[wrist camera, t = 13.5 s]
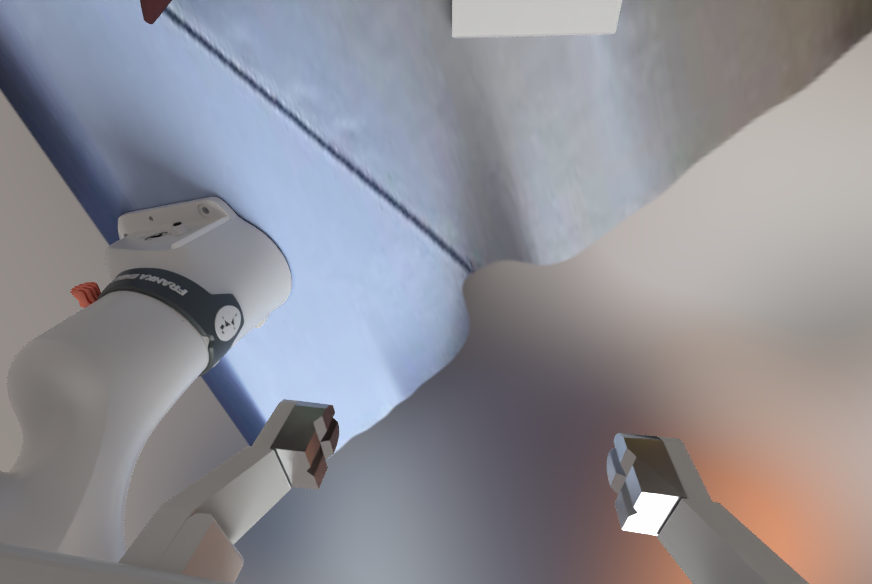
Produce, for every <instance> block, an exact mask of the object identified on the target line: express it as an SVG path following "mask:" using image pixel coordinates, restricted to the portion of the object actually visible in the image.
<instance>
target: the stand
mask: <svg viewBox="0 0 872 584" xmlns="http://www.w3.org/2000/svg"><path fill="white" fill-rule="evenodd" d="M621 4H622V0H452V37H454V38H488V37H532V36H576V35H607V34H613V33H616V28H617V23H618V18H619V14H620V9H621Z"/></svg>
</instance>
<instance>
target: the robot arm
mask: <svg viewBox="0 0 872 584" xmlns="http://www.w3.org/2000/svg"><path fill="white" fill-rule="evenodd" d="M206 208H207V209H208V210H209V211H208V210H207V209H206ZM118 232H119V237H120V240H118V241H117V242H115V243H113V244H111V245H110V246H109V247H108V248H107V249H106V252H105V258H104V259H105V266H106V269H107V272H108V274H109V277H110V280H111V283H110V284H109V285H108V286H107V287H106V288H105V289H104V290H103V292H102V293H101V292H100V289H99V287H98V285H97V283H95V282H87V283H85V284H80V285H79V286H75V287H74V288H72V289H71V290H72V291H71V293H72V295H74V297H75V298H76V299H77V300H78V301H79V303H80V306H81V307H84V309H82V310H80V311H79V312H77V313H76V314H74V315H72V316H71V317H69V318H67V319H66V320H64V321H63V322H61V323H59V324H58V325H56V326H54V327H53V328H51V329H49V330H48V331H46V332H44V333H43V334H41V335H40V336H38V337H36V338H35V339H33V340H32V341H30V342H28V343H27V344H26V345H25V346H24V347H23V348H22V349H21V350H20V351H19V352H18V353H17V355H16V356H15V357H14V359H13V361H12V363H11V366H10V368H9V371H8V377H7V388H8V395H9V399H10V402H11V405H12V407H13V409H14V412H15V414H16V416H17V418H18V421H19V423H20V425H21V429H22V434H23V443H22V449H21V452H20V455H19V457H18V460H17V462H16V463H15V465H14V466H13V468H12V469H11V470H10V472H9V473H5V472H1V471H0V584H237V583H234V582H235V580H236V578H237V576H238V574H239V572H240V570H241V568H242V566H243V563H244V562H243V557H242V556H241V554H240V553H239V552H238V550H237V549H236V548H235V546H234V545H233V544H234V543H235V542H236V541H238V540H239V538H240V537H242V535H244V534H245V533H246V532H247V531H248V530H249V529H250V528H251V527H252V526H253V525H254V524H255V523H256V522H257V521H258V520H259V519H260V518H261V517H262V516H263V515H264V514H265V513H266V512H267V511H268V510H269V509H270V508H272V507H273V506H274V504H276V503H277V502H278V501H279V500H280V499H281V498H282V497H283V496H284V495H285V494H286V493H287V492H288V491H289V490H290V489H291V487H299V488H309V489H319V488H320V485H321V483H322V480H323V478H324V476H325V473H326V471H327V468H328V466H327V463H326V459H328V458H329V457H330V456H331V455H332V454H334V451H335V449H336V446H337V443H338V438H339V425H338V422H337V421H336V420H335V419H334V418H333V416H334V414H335V411H334V408H333V405H328V404H319V403H311V402H303V401H295V400H285V399H284V400H283V401H281V402H280V403H279V404H278V406H277V407H276V409H275V410H274V412H273V413H272V415H271V417H270V418H269V420H268V421H267V423H266V425H265V426H264V428H263V429H262V431H261V432H260V434H259V436H258V437H257V439H256V440H255V442H254V444H253V445H252V447H249V446H247V447H245V448H244V449H242V450H241V451H239V452H238V453H236V454H235V455H233V456H232V457H231V458H229V459H228V460H226V461H225V462H223V463H222V464H220V465H219V466H217V467H216V468H215V469H213V470H212V471H210V472H209V473H207V474H206V475H204V476H203V477H201V478H200V479H199V480H197V481H196V482H194V483H193V484H192V485H190V486H188V487H187V488H185V489H184V490H183V491H181V492H180V493H178V494H177V495H175V496H174V497H172V498H171V499H169V500H168V501H167V502H165V503H164V504H162V505H161V506H160V507H159V509H158V510H157V512H156V513H155V514H154V515H153V517H152V518H151V519H150V521H149V522H148V523H147V525H146V526H145V527H144V529H143V530H142V531H141V533H140V534H139V535H138V537H137V538H136V539H135V541H134V542H133V543H132V545H131V546H130V547H129V549H128V550H127V551H126V546H125V538H124V512H125V504H126V497H127V492H128V488H129V484H130V479H131V477H132V473H133V470H134V467H135V465H136V462H137V460H138V457H139V455H140V453H141V450H142V448H143V447H144V445H145V443H146V441H147V439H148V438H149V436H150V434H151V433H152V432H153V430H154V429H155V427H156V426H157V425H158V423H159V422H160V421H161V420H162V418H163V417H164V416H165V414H166V413H167V412H168V411H169V409H170V408H171V407H172V406H173V405H174V403H175V402H176V401H177V400H178V398H179V397H180V396H181V395H182V394H183V392H185V390H186V389H187V388H188V387H189V386H190V385H191V384H192V382H193V381H194V380H195V379H196V378H197V377H199V376H202V375H204V374H205V373H207V372H208V371H209V370H210V369H211V368H212V367H214V366H215V365H216V364H217V363H218V362H219V360H220V359H221V358H222V357H223V356H224V355H225V354H226V353H227V352H228V350H229V349H230V348H232V347H233V346H234V345H235V344H236V343H237V342H239V341H240V340H241V339H242V338H243V337H244V336H245V335H247V334H248V333H249V332H250V331H251V330H252V329H253V328H254V327H255V328H259V327H261V326H262V325H263V324H264V323H266V321H267V320H268V317H269V315H270V313H271V312H273V311H274V310H276V309H277V308H279V307H280V306H282V305H283V304H284V303H285V302H286V300H287V299H288V297H289V295H290V292H291V287H292V279H291V273H290V269H289V267H288V264H287V262H286V260H285V258H284V256H283V255H282V253H281V252H280V250H279V249H278V248H277V246H276V245H275V244H274V243H273V242H272V241H271V240H270V239H269V238H268V237H267V236H266V235H265V234H264V233H262V232H261V231H260V230H258V229H257V228H255V227H254V226H252V225H251V224H249V223H247V222H246V221H244V220H243V219H241V218H240V217H238V216H237V215H236V213H235V212H234V211H233V210H232V209H231V208H230V207H229V206H228V205H227V204H226V203H225V202H224V201H223V200H221V199H220V198H218V197H207V198H202V199H196V200H191V201H186V202H180V203H175V204H170V205H164V206H159V207H154V208H148V209H143V210H138V211H133V212H128V213H125V214H123V215H121V216H120V217H119V218H118ZM614 444H615V447H616V448H614V449H612V450H610V452H609V454H608V458H607V473H608V479H609V483H610V486H611V488H612V489H613V490H614V491H615V492H616V493H617V494H618V497H617V499H616V502H615V506H616V509H617V513H618V517H619V520H620V524H621V528H622V530H626V531H633V532H639V533H645V534H652V535H658V536H657V538H658V539H659V541H660V542H661V543H662V545H663V546H664V547H665V548H666V550H667V551H668V552H669V553H670V555H671V556H672V557H673V559H674V560H675V561H676V562H677V564H678V565H679V566H680V568H681V569H682V570H683V571H684V573H685V574H686V575H687V576H688V578H689V579H690V580H691V582H692V583H693V584H809V583H808V582H807V581H805V580H804V579H803V578H802V577H801V576H800V575H799V574H798V573H797V572H796V571H794V570H793V569H792V568H791V567H790V566H789V565H788V564H787V563H785V562H784V561H783V560H782V559H781V558H780V557H779V556H778V555H777V554H775V553H774V552H773V551H772V550H771V549H770V548H769V547H768V546H767V545H765V544H764V543H763V542H762V541H761V540H760V539H759V538H758V537H757V536H756V535H754V534H753V533H752V532H751V531H750V530H749V529H748V528H747V527H745V526H744V525H743V524H742V523H741V522H740V521H739V520H738V519H737V518H735V517H734V516H733V515H732V514H731V513H730V512H729V511H728V510H727V509H725V508H724V507H723V506H722V505H721V504H720V503H717V502H712V500H711V498H710V496H709V494H708V492H707V490H706V488H705V486H704V484H703V481H702V479H701V478H700V475H699V473H698V471H697V469H696V467H695V465H694V463H693V461H692V459H691V457H690V455H689V453H688V451H687V449H686V447H685V445H684V443H683V442H682V441H681V440H680V439H676V438H665V437H657V436H649V435H636V434H625V433H618V434H617V435H616V436H615V439H614Z"/></svg>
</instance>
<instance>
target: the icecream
mask: <svg viewBox="0 0 872 584" xmlns="http://www.w3.org/2000/svg"><path fill="white" fill-rule="evenodd" d="M171 1H172V0H140V2H141V8H142V13H143V17H144V20H145V21H146V22H147V23H149V24H153V23H154V22H155V21H156V20H157V18H158V17H159V16H160V15H161V13H162V12H163V11H164V10H165V8H166V7H167V6H168V4H169V3H170V2H171Z"/></svg>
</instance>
